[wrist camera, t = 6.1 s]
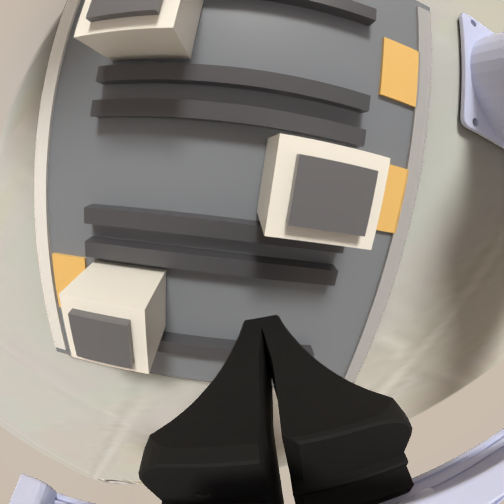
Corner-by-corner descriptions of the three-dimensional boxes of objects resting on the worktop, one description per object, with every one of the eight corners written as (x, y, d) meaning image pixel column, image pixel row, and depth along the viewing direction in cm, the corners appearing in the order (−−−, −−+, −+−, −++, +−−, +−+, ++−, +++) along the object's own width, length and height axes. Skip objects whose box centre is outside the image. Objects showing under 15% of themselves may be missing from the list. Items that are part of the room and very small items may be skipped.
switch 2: (166, 269, 13) (141, 315, 9) (165, 326, 14) (146, 380, 10) (95, 259, 12) (53, 298, 9) (100, 314, 13) (68, 362, 10)
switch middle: (350, 154, 11) (396, 159, 8) (337, 223, 12) (376, 254, 9) (267, 138, 11) (282, 132, 7) (256, 211, 12) (265, 240, 8)
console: (418, 14, 10) (437, 2, 8) (346, 373, 17) (356, 394, 15) (90, -25, 8) (76, -40, 6) (65, 340, 15) (51, 358, 13)
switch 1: (203, 1, 9) (191, -48, 5) (190, 59, 10) (170, 22, 6) (127, 4, 8) (93, -35, 5) (112, 60, 9) (67, 34, 6)
